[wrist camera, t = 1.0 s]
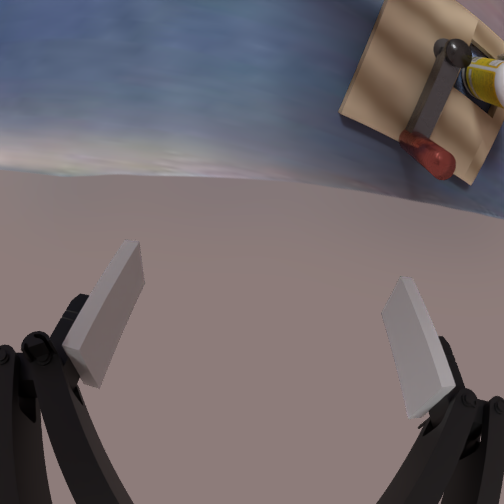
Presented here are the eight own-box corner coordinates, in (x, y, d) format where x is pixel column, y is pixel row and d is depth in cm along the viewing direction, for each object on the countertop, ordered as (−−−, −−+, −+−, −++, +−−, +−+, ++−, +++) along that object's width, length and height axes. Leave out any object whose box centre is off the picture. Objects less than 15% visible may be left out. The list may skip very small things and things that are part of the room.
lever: (441, 33, 23) (484, 33, 16) (463, 49, 23) (507, 55, 16) (393, 143, 32) (423, 171, 25) (415, 156, 33) (449, 185, 25)
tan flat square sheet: (396, -32, 20) (402, -35, 19) (518, 61, 23) (526, 63, 21) (338, 111, 33) (341, 114, 31) (465, 180, 36) (472, 186, 34)
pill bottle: (482, 107, 29) (533, 130, 20) (453, 81, 28) (505, 96, 19) (498, 75, 25) (550, 91, 17) (470, 47, 24) (523, 54, 15)
